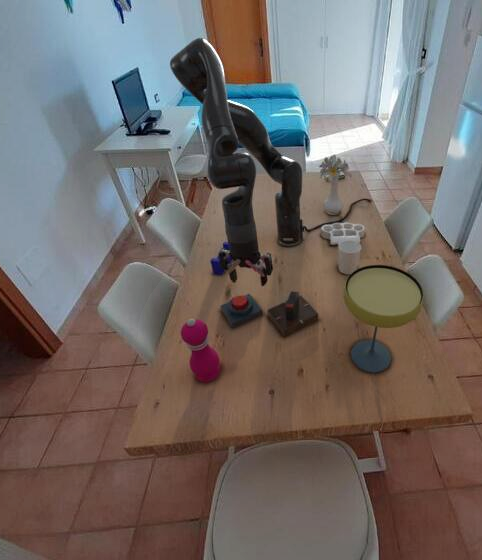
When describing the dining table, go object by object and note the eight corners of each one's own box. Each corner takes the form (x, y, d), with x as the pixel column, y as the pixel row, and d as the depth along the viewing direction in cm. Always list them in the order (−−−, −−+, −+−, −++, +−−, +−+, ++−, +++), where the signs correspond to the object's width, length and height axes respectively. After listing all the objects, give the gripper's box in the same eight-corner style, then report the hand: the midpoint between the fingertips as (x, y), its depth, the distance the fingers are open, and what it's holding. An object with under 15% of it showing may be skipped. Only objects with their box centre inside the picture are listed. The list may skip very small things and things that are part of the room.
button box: (250, 298, 108) (248, 289, 105) (262, 314, 102) (261, 305, 100) (221, 310, 104) (219, 301, 101) (232, 328, 98) (230, 319, 95)
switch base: (299, 300, 107) (299, 293, 105) (319, 321, 100) (319, 314, 98) (267, 315, 102) (266, 308, 100) (285, 338, 95) (284, 331, 93)
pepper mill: (196, 361, 89) (177, 309, 76) (223, 359, 89) (209, 307, 76) (191, 385, 83) (169, 333, 70) (220, 383, 84) (204, 331, 71)
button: (243, 297, 103) (243, 293, 102) (250, 305, 100) (249, 301, 99) (230, 303, 101) (229, 298, 100) (236, 311, 98) (235, 307, 97)
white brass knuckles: (322, 247, 131) (320, 228, 142) (367, 246, 132) (361, 227, 143) (323, 240, 129) (320, 221, 140) (368, 239, 129) (362, 220, 141)
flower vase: (340, 201, 161) (343, 149, 145) (350, 220, 147) (355, 164, 131) (314, 203, 159) (314, 151, 143) (322, 222, 145) (323, 167, 129)
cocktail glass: (358, 395, 81) (370, 327, 65) (327, 342, 94) (330, 274, 78) (417, 370, 87) (442, 302, 71) (381, 323, 100) (394, 257, 84)
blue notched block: (223, 254, 127) (220, 241, 123) (234, 255, 126) (231, 242, 122) (209, 273, 118) (206, 259, 114) (221, 275, 117) (218, 261, 113)
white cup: (361, 265, 122) (364, 243, 115) (354, 278, 116) (356, 255, 110) (341, 260, 124) (343, 237, 118) (333, 272, 119) (334, 249, 112)
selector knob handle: (291, 303, 102) (290, 290, 99) (299, 304, 102) (298, 291, 98) (285, 319, 97) (284, 306, 93) (293, 320, 96) (293, 307, 93)
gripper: (272, 229, 86) (276, 277, 96) (220, 224, 87) (230, 271, 98) (264, 245, 80) (269, 294, 90) (209, 239, 82) (220, 288, 92)
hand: (249, 282), depth 94 cm, fingers open, 8 cm apart
